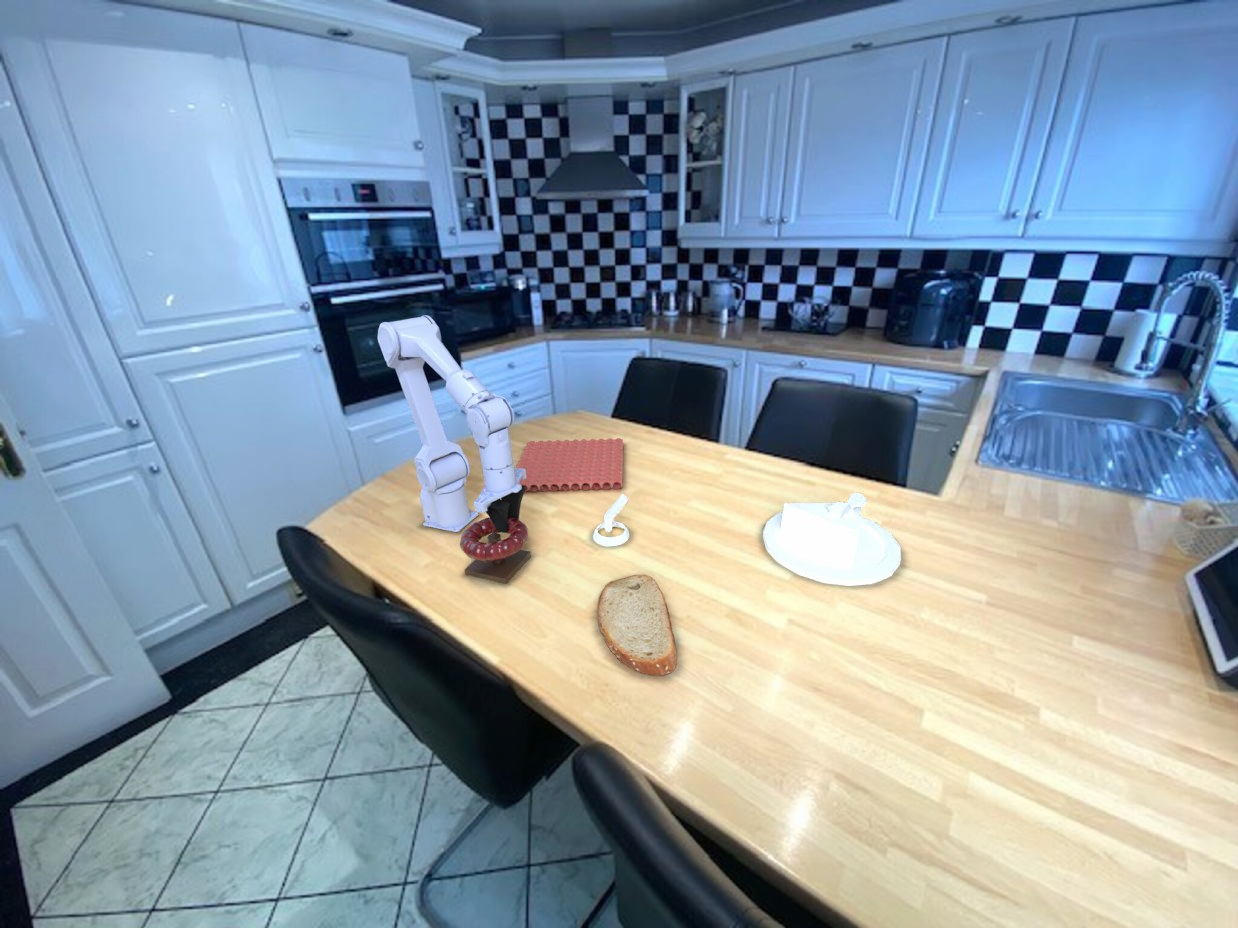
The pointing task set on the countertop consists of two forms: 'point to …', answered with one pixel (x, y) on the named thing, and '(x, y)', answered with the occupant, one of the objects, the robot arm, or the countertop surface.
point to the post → (498, 565)
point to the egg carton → (572, 465)
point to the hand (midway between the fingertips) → (507, 526)
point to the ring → (495, 549)
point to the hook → (612, 525)
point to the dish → (832, 543)
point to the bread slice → (637, 624)
